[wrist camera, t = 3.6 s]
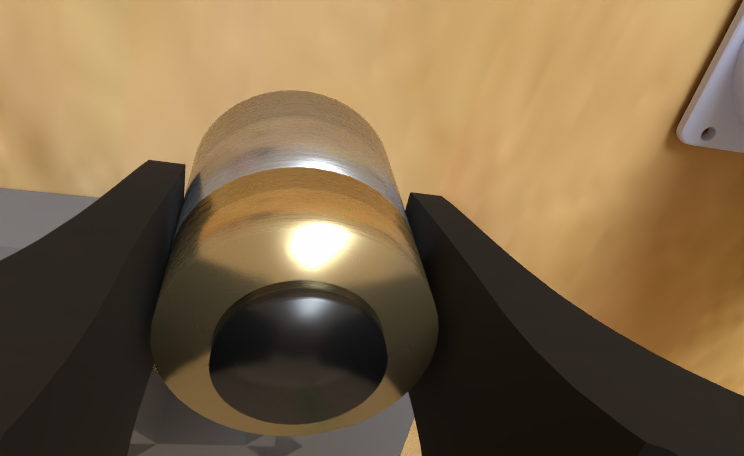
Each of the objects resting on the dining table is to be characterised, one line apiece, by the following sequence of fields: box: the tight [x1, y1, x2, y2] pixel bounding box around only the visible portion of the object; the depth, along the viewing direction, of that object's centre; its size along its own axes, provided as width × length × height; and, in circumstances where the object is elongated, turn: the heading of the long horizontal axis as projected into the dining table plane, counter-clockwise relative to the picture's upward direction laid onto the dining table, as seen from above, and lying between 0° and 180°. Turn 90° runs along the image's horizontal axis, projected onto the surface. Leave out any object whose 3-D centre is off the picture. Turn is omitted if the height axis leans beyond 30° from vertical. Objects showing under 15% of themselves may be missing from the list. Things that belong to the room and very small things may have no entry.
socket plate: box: [0, 188, 414, 456], centre depth 22 cm, size 16×12×3 cm
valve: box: [150, 91, 439, 436], centre depth 10 cm, size 4×4×5 cm
